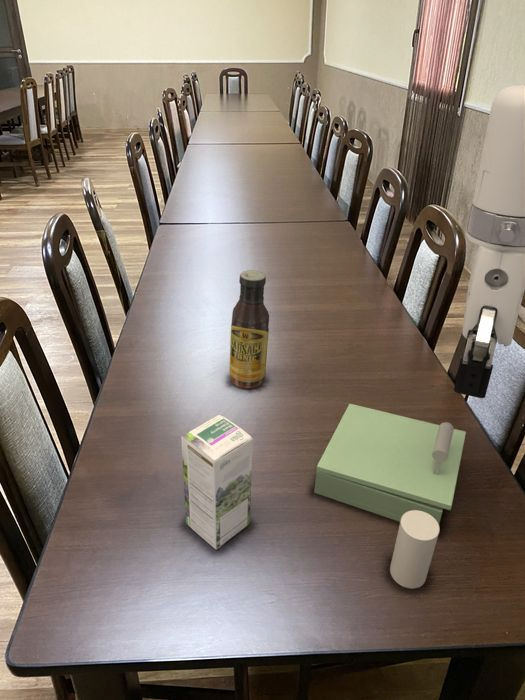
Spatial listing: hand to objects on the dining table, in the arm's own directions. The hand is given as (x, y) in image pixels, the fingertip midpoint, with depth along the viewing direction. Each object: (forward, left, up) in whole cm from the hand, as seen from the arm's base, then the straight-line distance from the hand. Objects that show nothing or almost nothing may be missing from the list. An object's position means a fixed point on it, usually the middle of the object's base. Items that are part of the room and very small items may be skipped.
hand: (473, 371), depth 61 cm
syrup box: (+26, +14, -20) cm, 36 cm away
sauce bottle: (+32, -17, -20) cm, 41 cm away
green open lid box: (+7, -1, -19) cm, 21 cm away
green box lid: (+7, -1, -15) cm, 17 cm away
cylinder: (+4, +14, -19) cm, 24 cm away
